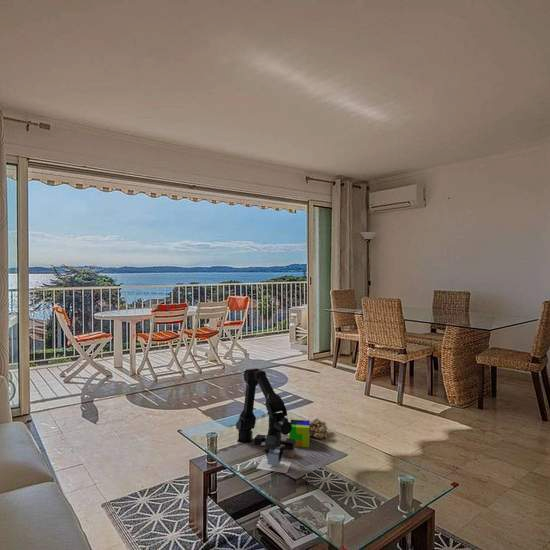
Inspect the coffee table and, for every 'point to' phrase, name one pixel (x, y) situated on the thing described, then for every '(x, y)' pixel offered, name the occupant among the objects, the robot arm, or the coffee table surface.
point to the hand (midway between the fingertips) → (274, 460)
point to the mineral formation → (318, 429)
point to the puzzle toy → (300, 432)
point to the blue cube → (273, 457)
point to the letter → (281, 467)
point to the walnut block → (289, 453)
